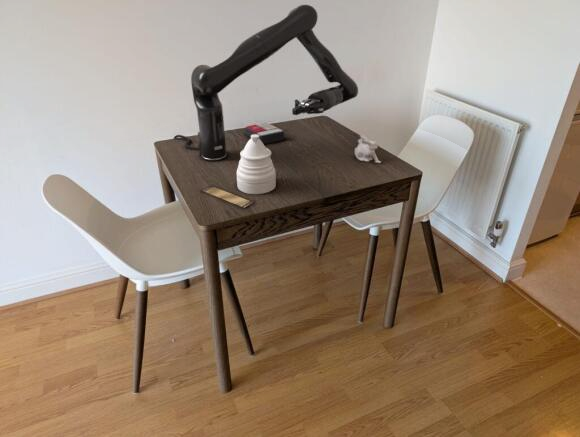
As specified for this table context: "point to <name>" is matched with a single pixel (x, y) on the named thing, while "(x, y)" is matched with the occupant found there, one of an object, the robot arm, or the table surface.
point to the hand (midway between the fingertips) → (294, 112)
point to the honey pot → (255, 168)
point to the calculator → (265, 132)
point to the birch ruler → (228, 197)
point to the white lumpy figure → (366, 150)
